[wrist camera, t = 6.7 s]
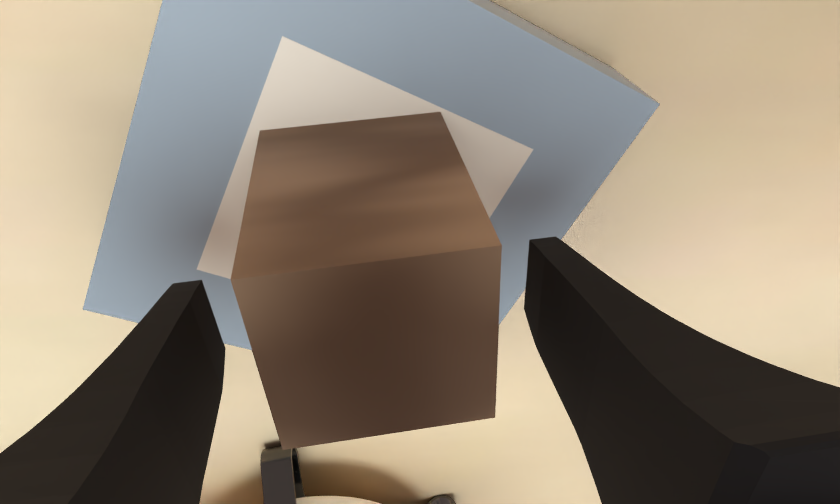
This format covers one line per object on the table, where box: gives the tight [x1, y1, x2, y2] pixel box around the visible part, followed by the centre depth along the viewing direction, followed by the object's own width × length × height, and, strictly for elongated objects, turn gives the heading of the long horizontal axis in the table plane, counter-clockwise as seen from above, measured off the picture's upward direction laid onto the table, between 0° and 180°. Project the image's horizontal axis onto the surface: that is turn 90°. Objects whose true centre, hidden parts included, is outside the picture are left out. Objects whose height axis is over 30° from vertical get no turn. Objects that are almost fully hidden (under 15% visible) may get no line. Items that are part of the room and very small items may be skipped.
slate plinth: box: [83, 0, 660, 350], centre depth 17 cm, size 12×12×3 cm
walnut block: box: [231, 112, 502, 450], centre depth 13 cm, size 4×4×6 cm
